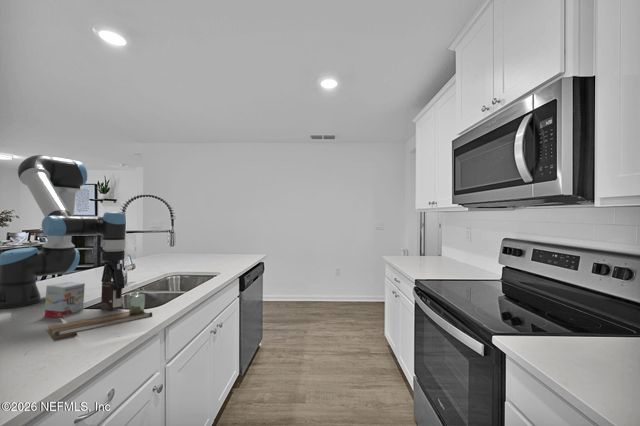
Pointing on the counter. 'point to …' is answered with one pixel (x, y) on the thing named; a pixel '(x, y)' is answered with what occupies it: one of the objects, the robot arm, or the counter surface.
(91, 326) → the shelf board
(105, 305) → the box
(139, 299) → the green glass jar
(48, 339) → the counter surface
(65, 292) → the ink box
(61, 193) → the robot arm
